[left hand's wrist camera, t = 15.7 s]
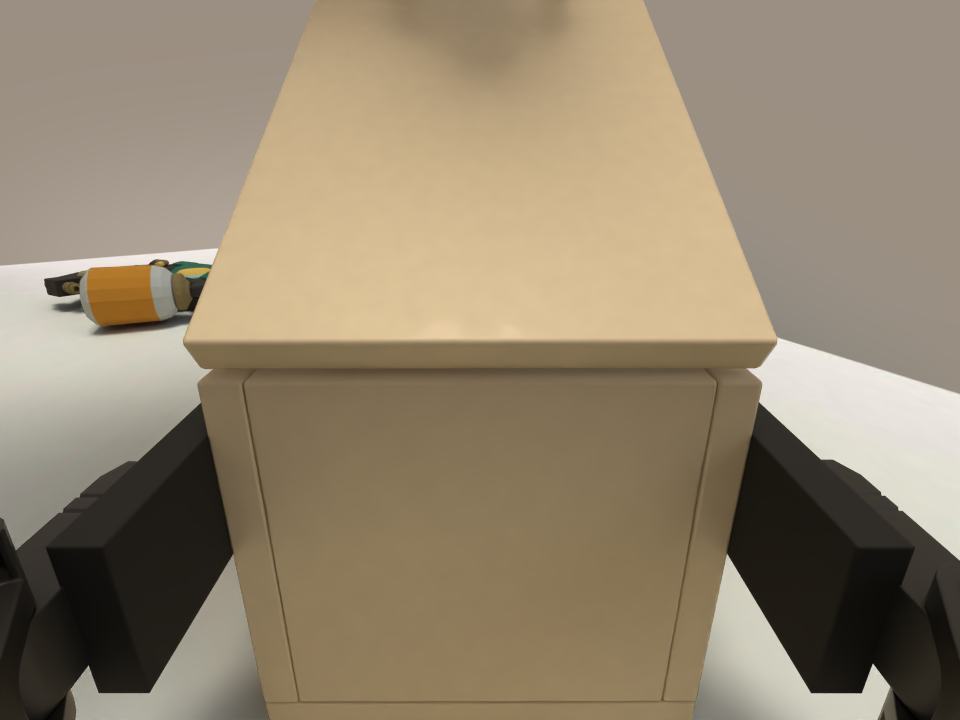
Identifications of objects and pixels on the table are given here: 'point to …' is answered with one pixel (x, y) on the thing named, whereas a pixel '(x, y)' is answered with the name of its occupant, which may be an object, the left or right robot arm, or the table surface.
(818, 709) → the table surface
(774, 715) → the table surface
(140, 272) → the spray gun
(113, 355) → the table surface
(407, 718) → the chest
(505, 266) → the lid
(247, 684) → the table surface
